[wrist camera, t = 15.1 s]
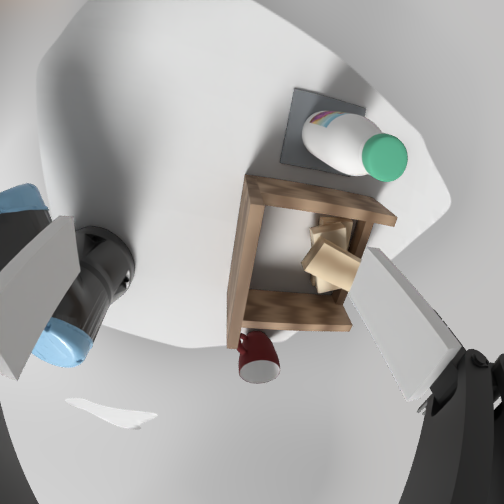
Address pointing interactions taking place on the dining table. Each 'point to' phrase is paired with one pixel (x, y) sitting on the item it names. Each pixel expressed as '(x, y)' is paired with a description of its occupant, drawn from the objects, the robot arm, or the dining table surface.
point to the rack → (287, 303)
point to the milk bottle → (354, 145)
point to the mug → (257, 358)
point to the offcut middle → (336, 236)
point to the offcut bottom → (328, 220)
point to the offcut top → (331, 263)
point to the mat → (299, 113)
